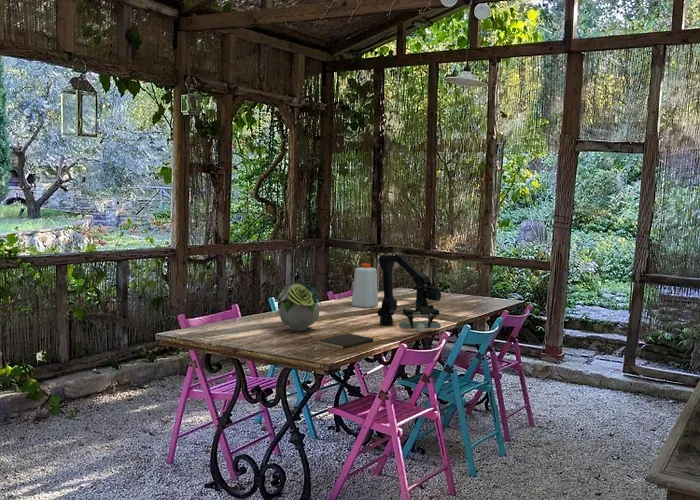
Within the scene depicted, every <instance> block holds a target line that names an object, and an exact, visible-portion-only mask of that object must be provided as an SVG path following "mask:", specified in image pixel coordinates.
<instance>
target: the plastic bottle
mask: <svg viewBox="0 0 700 500" xmlns="http://www.w3.org/2000/svg"><path fill="white" fill-rule="evenodd" d="M377 271H378V270H377V268H375V267H371V263H364V262H363V263H361V267H356V268H355V269H354V274H353V275H354V277H353V287H352V296H351V306H352V307H354V306H356V307H355V308H362V307H364V308H363V309H372V308H375V307H378V305H379V293H378V272H377Z"/></svg>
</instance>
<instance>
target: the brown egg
mask: <svg viewBox="0 0 700 500" xmlns="http://www.w3.org/2000/svg"><path fill="white" fill-rule="evenodd" d="M403 321H404V324H410V322H409V319H408V317H407V316H406V317H404V319H403Z"/></svg>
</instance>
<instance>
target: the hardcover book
mask: <svg viewBox="0 0 700 500" xmlns="http://www.w3.org/2000/svg"><path fill="white" fill-rule="evenodd" d="M317 341H318V344H319V345H322V344H323V345H324V346H327V347H328V346H329V347H332V348H336V349H337V348H338V349H341V350H345V349H349V348H354V347H357V346H361V345H362V346H363V345H365V344H370V343H373V342H374V338H373V337H370V336H365V335H364V336H363V335H360V334H359V335H358V334H353V333H349V332H348V333H344V334H339V335H334V336H330V337H326V338H320V339H317ZM323 345H322V346H323Z"/></svg>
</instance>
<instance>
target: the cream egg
mask: <svg viewBox="0 0 700 500" xmlns="http://www.w3.org/2000/svg"><path fill="white" fill-rule="evenodd" d="M415 330H416V332H419V333H420V332H426V328H425V325H424V323H422V322H419V323H418V324H417V327H416V329H415Z"/></svg>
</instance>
